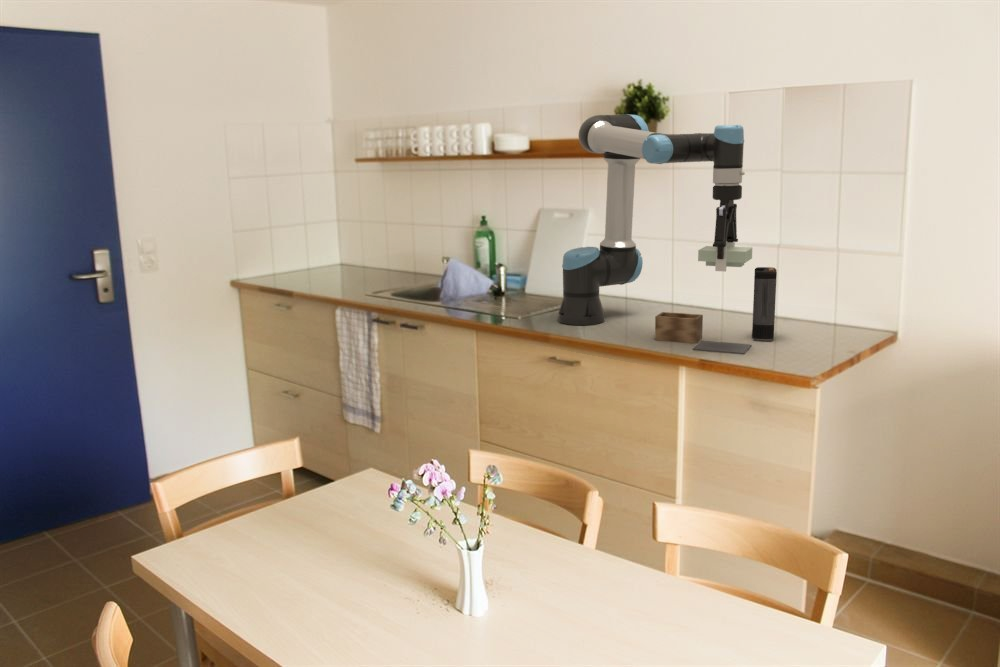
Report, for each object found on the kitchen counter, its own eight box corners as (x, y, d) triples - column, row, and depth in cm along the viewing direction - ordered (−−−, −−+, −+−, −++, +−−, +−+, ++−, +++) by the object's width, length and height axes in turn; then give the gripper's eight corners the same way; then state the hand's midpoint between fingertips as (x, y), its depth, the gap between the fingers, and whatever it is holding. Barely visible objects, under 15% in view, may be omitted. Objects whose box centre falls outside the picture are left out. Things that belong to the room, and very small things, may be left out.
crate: (655, 340, 246) (655, 316, 244) (662, 334, 252) (662, 311, 250) (696, 343, 240) (696, 319, 239) (702, 338, 247) (702, 314, 245)
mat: (692, 349, 234) (692, 348, 233) (701, 341, 242) (701, 340, 242) (744, 354, 227) (744, 352, 227) (751, 345, 236) (751, 344, 236)
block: (697, 266, 228) (698, 250, 227) (706, 262, 236) (706, 245, 235) (745, 268, 223) (745, 251, 222) (751, 263, 231) (752, 247, 230)
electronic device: (752, 333, 250) (754, 266, 246) (773, 334, 248) (776, 267, 244) (751, 341, 241) (754, 271, 237) (773, 341, 240) (776, 272, 235)
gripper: (732, 187, 214) (729, 275, 219) (750, 182, 232) (747, 263, 237) (703, 187, 217) (701, 273, 222) (722, 182, 236) (720, 262, 241)
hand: (724, 268), depth 230 cm, fingers closed on block, 9 cm apart
